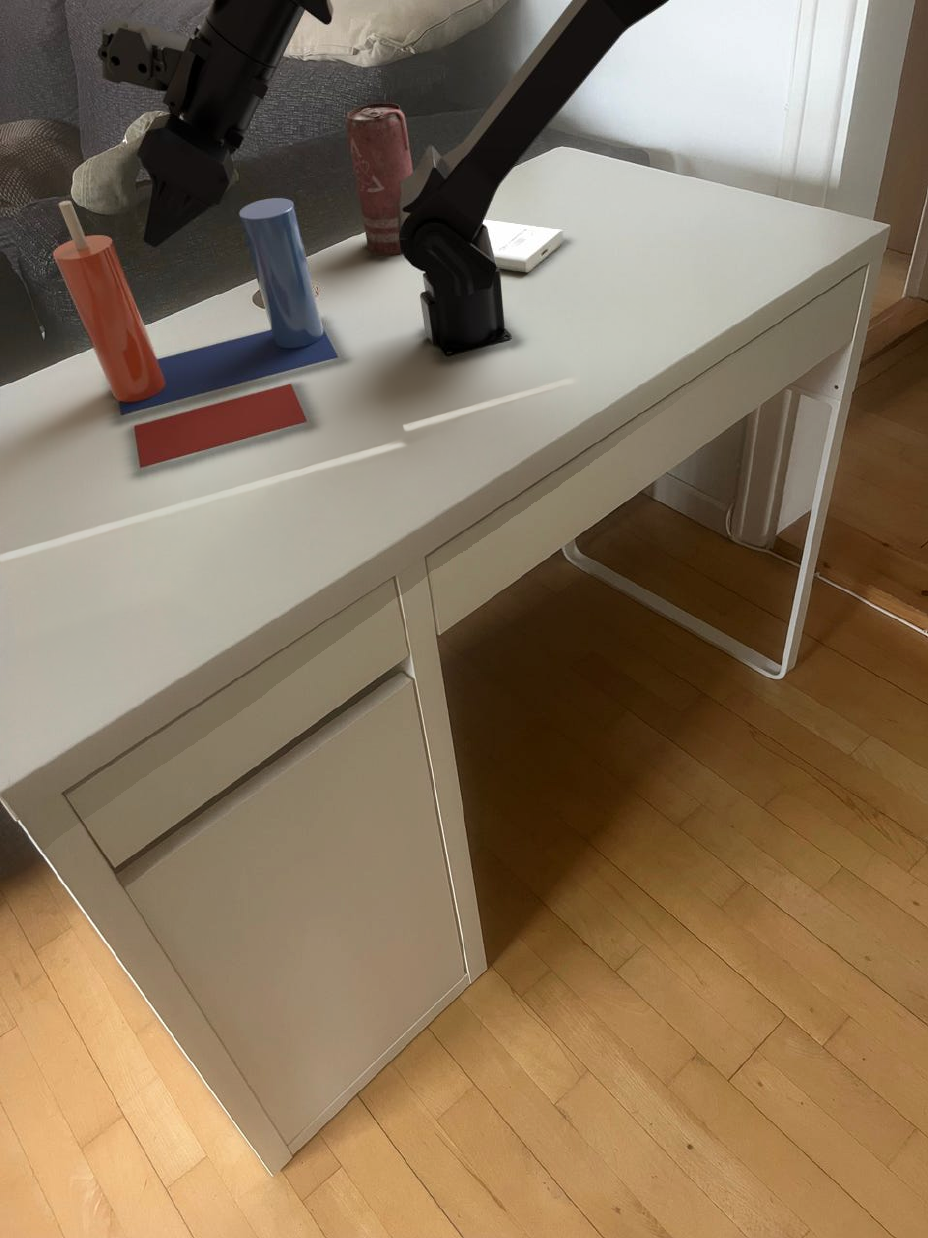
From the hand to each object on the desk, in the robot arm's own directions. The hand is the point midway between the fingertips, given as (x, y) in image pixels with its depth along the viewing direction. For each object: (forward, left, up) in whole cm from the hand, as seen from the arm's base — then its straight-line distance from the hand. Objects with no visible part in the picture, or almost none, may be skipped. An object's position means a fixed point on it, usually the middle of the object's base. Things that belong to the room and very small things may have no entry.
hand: (159, 221), depth 75 cm
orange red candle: (+7, 0, -13) cm, 15 cm away
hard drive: (-32, -11, -14) cm, 37 cm away
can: (-23, -18, -14) cm, 33 cm away
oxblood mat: (+1, +10, -14) cm, 17 cm away
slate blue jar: (-9, -2, -13) cm, 16 cm away
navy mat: (-1, 0, -14) cm, 14 cm away
